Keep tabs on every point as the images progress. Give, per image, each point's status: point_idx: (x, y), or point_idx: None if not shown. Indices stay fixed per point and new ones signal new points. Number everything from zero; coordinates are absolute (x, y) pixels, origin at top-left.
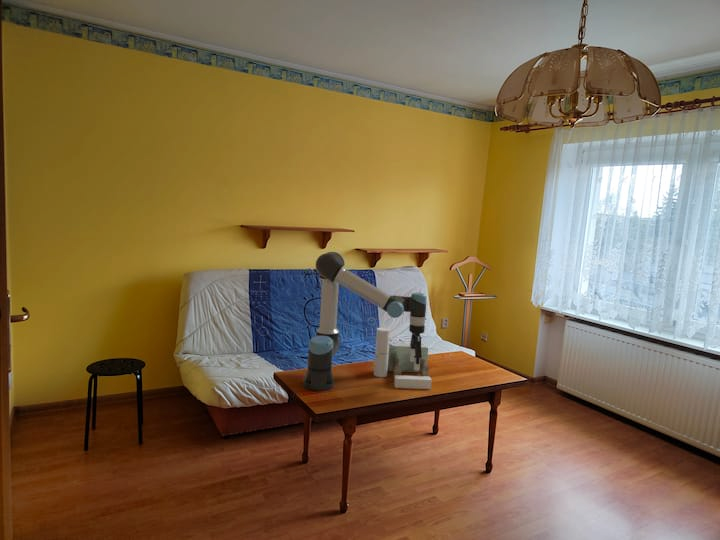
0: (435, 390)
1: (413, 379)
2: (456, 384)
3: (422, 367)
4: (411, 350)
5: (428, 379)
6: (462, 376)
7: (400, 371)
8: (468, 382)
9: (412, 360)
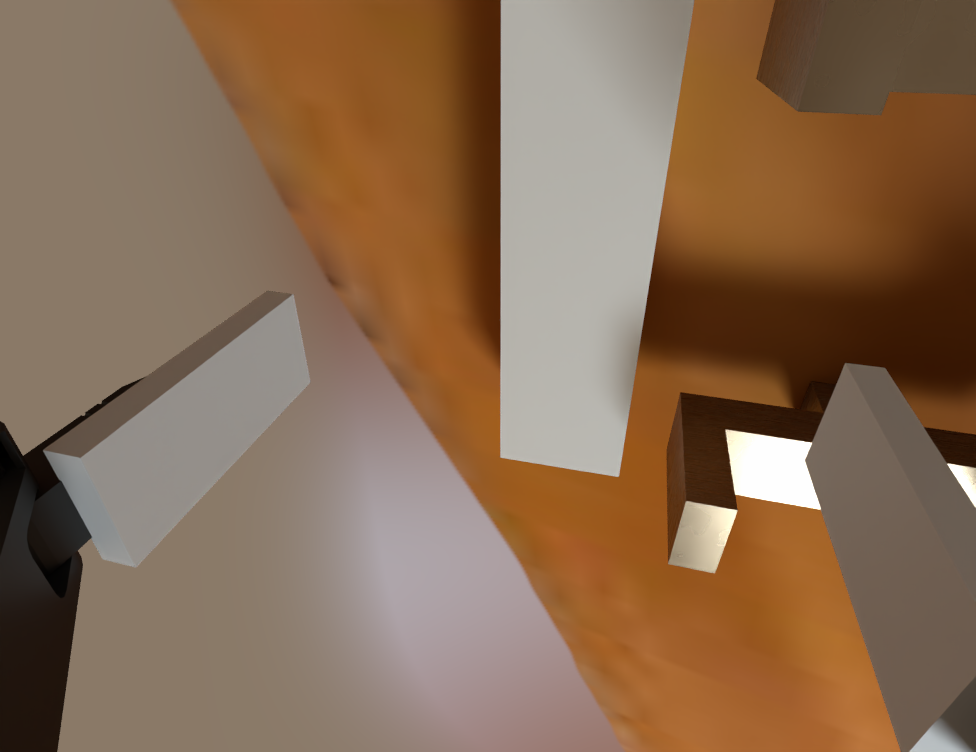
0: (492, 422)
1: (501, 253)
2: (644, 613)
3: (723, 491)
4: (957, 617)
5: (515, 433)
6: (835, 720)
7: (776, 73)
8: (685, 691)
9: (832, 424)
